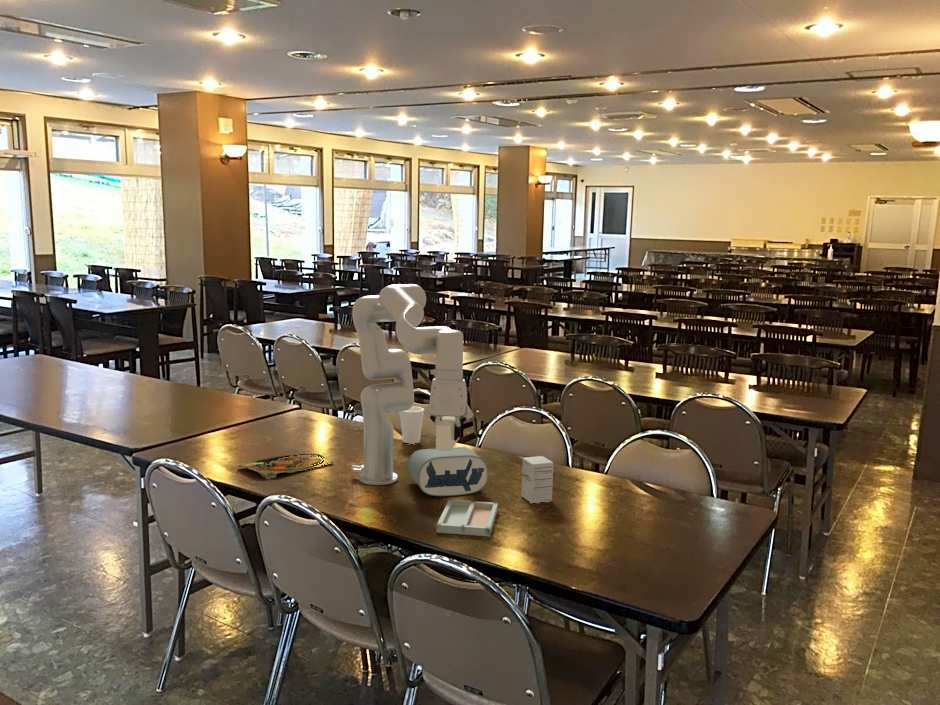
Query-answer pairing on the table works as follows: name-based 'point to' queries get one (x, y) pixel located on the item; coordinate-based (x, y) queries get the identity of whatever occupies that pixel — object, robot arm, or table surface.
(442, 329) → the robot arm
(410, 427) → the foam cup
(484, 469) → the pencil case
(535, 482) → the stacked block tower
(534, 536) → the table surface
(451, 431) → the upright beige block
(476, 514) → the divided serving tray
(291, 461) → the prepared meal
